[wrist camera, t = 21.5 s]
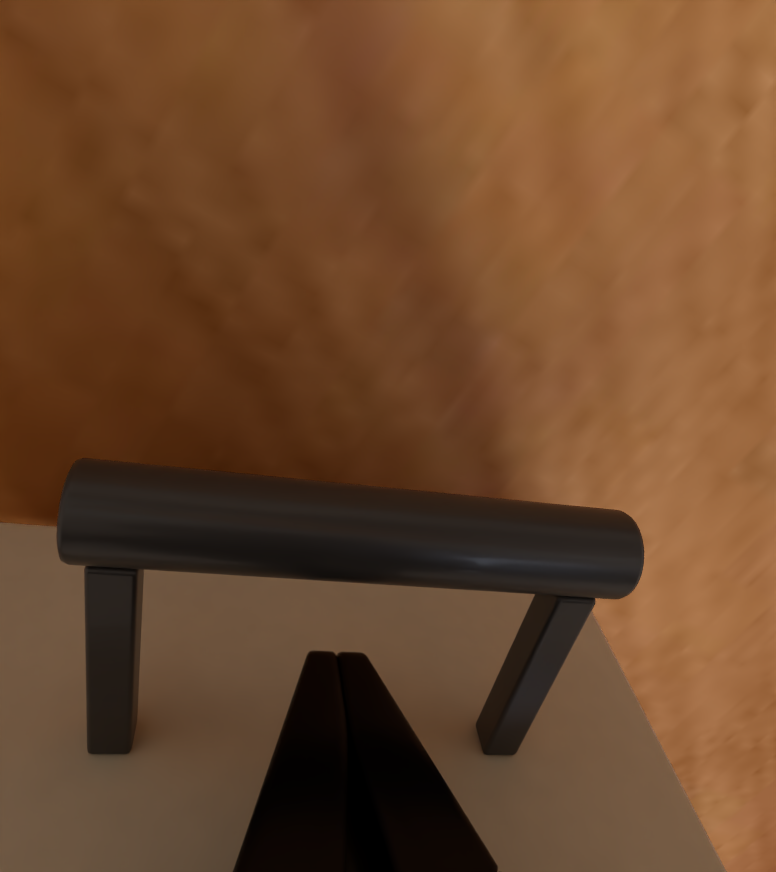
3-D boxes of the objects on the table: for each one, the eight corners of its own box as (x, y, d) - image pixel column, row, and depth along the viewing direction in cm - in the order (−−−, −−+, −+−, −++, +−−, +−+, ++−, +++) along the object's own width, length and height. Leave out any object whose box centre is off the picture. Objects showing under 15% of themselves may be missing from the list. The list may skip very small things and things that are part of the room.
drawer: (-43, 280, 10) (-495, 669, 4) (654, 384, 13) (973, 705, 7) (24, 874, 20) (-90, 1263, 14) (426, 859, 22) (481, 1176, 16)
